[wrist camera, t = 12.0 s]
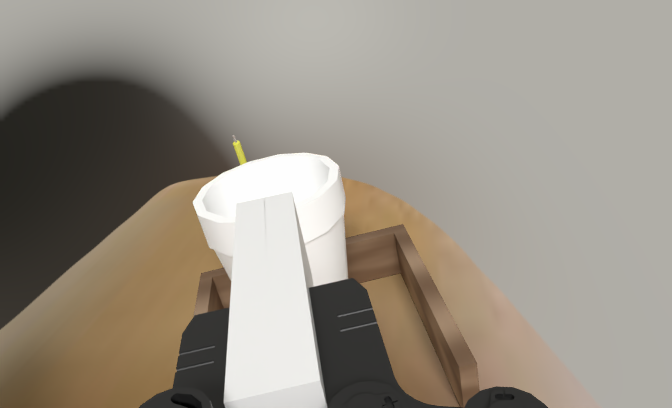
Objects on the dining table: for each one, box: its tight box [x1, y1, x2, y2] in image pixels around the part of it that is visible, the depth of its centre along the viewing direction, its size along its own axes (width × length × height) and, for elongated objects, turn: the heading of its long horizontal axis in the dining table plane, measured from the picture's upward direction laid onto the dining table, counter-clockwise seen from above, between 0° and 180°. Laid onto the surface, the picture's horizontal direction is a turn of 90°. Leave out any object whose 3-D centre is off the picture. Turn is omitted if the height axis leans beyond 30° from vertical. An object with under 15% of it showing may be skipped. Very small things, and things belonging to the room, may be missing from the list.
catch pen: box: [194, 224, 479, 408], centre depth 36 cm, size 16×17×4 cm
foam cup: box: [193, 153, 348, 287], centre depth 35 cm, size 10×9×13 cm
